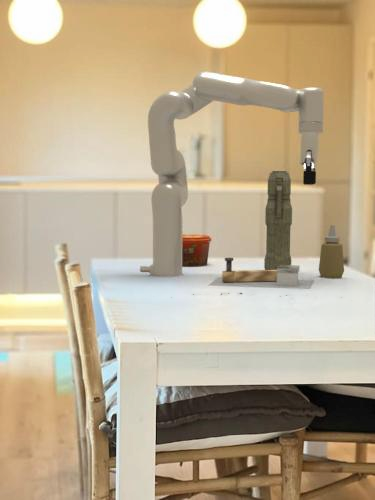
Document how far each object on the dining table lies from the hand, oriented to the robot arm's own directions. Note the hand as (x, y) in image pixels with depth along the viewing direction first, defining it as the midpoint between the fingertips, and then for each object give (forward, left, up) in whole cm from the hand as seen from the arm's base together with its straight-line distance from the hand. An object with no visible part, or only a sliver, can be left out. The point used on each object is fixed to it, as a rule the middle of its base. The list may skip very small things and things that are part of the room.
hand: (309, 184), depth 271 cm
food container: (-46, +42, -32) cm, 70 cm away
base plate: (-13, -11, -31) cm, 36 cm away
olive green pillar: (-11, +17, -31) cm, 37 cm away
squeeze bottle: (+7, +8, -31) cm, 33 cm away
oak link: (-14, -9, -29) cm, 34 cm away
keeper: (-5, -13, -30) cm, 33 cm away
